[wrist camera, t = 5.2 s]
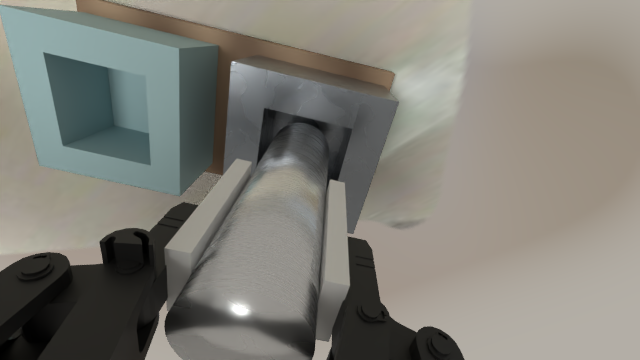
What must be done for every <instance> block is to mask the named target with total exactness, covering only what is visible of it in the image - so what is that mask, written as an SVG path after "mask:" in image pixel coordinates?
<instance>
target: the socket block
mask: <svg viewBox="0 0 640 360" xmlns="http://www.w3.org/2000/svg"><path fill="white" fill-rule="evenodd" d="M398 103H399V101H398V100H397V99H396V98H395V97H394V96H393V95H392V94H391V93H390V91H389V90H388V89H387V88H386V87H385V86H383V85H379V84H375V83H371V82H367V81H363V80H359V79H355V78H351V77H346V76H342V75H338V74H334V73H330V72H326V71H322V70H318V69H314V68H310V67H306V66H302V65H297V64H293V63H289V62H285V61H281V60H277V59H273V58H269V57H265V56H261V55H255V56H251V57H247V58H242V59H238V60H234V61H231V71H230V85H229V99H228V113H227V126H226V140H225V154H224V168H223V175H224V174H225V172H226V171H227V170H228V169H229V167H230V166H231V165H232V164H233V162H234V161H235V160H236V159H241V160H245V161H250V162H252V165H251V173H250V177H251V175H252V173H253V172H254V170H255V169H256V167H257V165H258V164H259V162H260V160H261V159H262V157H263V155H264V154H265V152H266V150H267V149H268V147H269V146H270V144H271V142H272V141H273V139H274V137H275V136H276V134H277V133H278V132H279V131H280V130H281V129H282V128H283V127H285V126H287V125H289V124H292V123H306V124H310V125H312V126H314V127H316V128H317V129H318V130H320V131H321V132H322V134H323V135H324V136H325V138H326V140H327V142H328V146H329V158H328V172H327V186H326V193H327V189H328V185H329V181H330V180H335V181H339V182H344V183H345V197H346V217H347V233H351V234H353V233H354V230H355V227H356V224H357V221H358V219H359V216H360V213H361V210H362V207H363V204H364V201H365V198H366V196H367V193H368V190H369V187H370V184H371V181H372V178H373V175H374V172H375V170H376V167H377V164H378V161H379V158H380V155H381V152H382V149H383V147H384V144H385V141H386V138H387V135H388V132H389V129H390V126H391V123H392V121H393V118H394V115H395V112H396V109H397V106H398Z"/></svg>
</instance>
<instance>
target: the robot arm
mask: <svg viewBox="0 0 640 360" xmlns="http://www.w3.org/2000/svg"><path fill="white" fill-rule="evenodd" d="M251 165H252V162H250V161H245V160H241V159H236V160H235V161H234V162H233V164H232V165H231V166H230V167H229V169H228V170H227V171H226V172H225V174H224V175H223V176H222V177H221V178H220V180H219V181H218V182H217V183H216V185H215V186H214V187H213V188H212V190H211V191H210V192H209V193H208V195H207V196H206V197H205V198H204V200H203V201H202V202H201V203H200V204H199V205H194V204H189V203H185V202H183V203H181V204H179V205H177V206H175V207H173V208H171V209H170V211H169V212H168V213H167V214H166V215H165V216H164V218H162V219H161V220H160V221H159V222H158V224H157V225H155V226H154V227H153V228H152V229H151V231H150V232H148V231H146V230H143V229H138V228H127V229H122V230H118V231H115V232H113V233H111V234H109V235H107V236H105V237H104V238H103V239H102V240H101V241H100V247H101V252H102V258H103V264H96V265H76V266H70V263H69V260H68V259H67V257H66V256H64V255H62V254H60V253H51V252H47V253H40V254H35V255H31V256H28V257H25V258H22V259H21V260H19V261H17V262H15V263H13V264H11V265H10V266H8V267H7V268H5V269H4V270H2V271H1V272H0V360H145V357H146V354H147V352H148V349H149V346H150V344H151V341H152V338H153V336H154V333H155V331H156V328H157V325H158V321H159V311H160V309H161V307H162V306H163V304H164V303H165V301H166V300H167V311H169V310H170V308H171V307H172V305H173V303H174V302H175V300H176V298H177V297H178V295H179V294H180V292H181V290H182V289H183V287H184V285H185V284H186V282H187V280H188V279H189V277H190V275H191V274H192V272H193V271H194V269H195V267H196V266H197V264H198V262H199V261H200V259H201V257H202V256H203V254H204V252H205V251H206V249H207V247H208V246H209V244H210V243H211V241H212V239H213V238H214V236H215V234H216V233H217V231H218V229H219V228H220V226H221V224H222V223H223V221H224V220H225V218H226V216H227V215H228V213H229V211H230V210H231V208H232V206H233V205H234V203H235V201H236V200H237V198H238V196H239V195H240V193H241V192H242V190H243V188H244V187H245V185H246V183H247V182H248V180H249V178H250V173H251ZM331 334H332V347H331V350H330V352H329V355H328V357H327V360H464V358H463V355H462V353H461V351H460V349H459V348H458V346H457V344H456V343H455V341H454V340H453V339H452V338H451V337H450V336H449V335H448V334H446V333H445V332H443V331H442V330H440V329H437V328H434V327H423V328H421V329H420V330H418V332H415V331H413V330H411V329H409V328H407V327H405V326H403V325H401V324H399V323H398V322H396V321H395V320H393V319H392V318H391V317H390V316H389V312H388V311H387V309H386V307H385V306H384V305H383V304H382V303H381V302H380V297H379V291H378V284H377V278H376V272H375V265H374V261H373V254H372V249H371V247H370V246H369V245H368V243H367V241H366V240H361V239H357V238H352V237H348V236H347V217H346V197H345V183H344V182H339V181H335V180H330V181H329V185H328V189H327V193H326V198H325V212H324V226H323V240H322V254H321V268H320V282H319V295H318V312H317V326H316V339H317V340H322V341H327V342H328V341H329V339H330V337H331Z"/></svg>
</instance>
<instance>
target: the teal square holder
mask: <svg viewBox="0 0 640 360" xmlns="http://www.w3.org/2000/svg"><path fill="white" fill-rule="evenodd" d="M0 15H1V18H2V22H3V26H4V30H5V34H6V38H7V42H8V46H9V49H10V53H11V57H12V61H13V65H14V69H15V73H16V77H17V80H18V84H19V88H20V92H21V96H22V100H23V104H24V108H25V112H26V115H27V119H28V123H29V127H30V131H31V135H32V139H33V143H34V146H35V150H36V154H37V158H38V162H39V166H44V167H48V168H53V169H57V170H62V171H67V172H71V173H76V174H80V175H85V176H90V177H94V178H99V179H103V180H108V181H112V182H117V183H122V184H126V185H131V186H135V187H140V188H145V189H149V190H154V191H158V192H163V193H168V194H172V195H177V196H181V195H182V194H183V193H184V192H185V191H186V190H187V188H188V187H189V186H190V185H191V184H192V183H193V182H194V181H195V180H196V179H197V178H198V177H199V176H200V175H201V174H202V173H203V172H204V171H205V170H206V169H207V168H208V167H209V166H210V165H211V164H212V162H213V143H214V124H215V105H216V85H217V66H218V47H219V45H216V44H212V43H208V42H203V41H199V40H195V39H191V38H187V37H183V36H179V35H175V34H171V33H167V32H163V31H159V30H154V29H150V28H146V27H142V26H138V25H134V24H130V23H126V22H122V21H118V20H114V19H110V18H105V17H101V16H97V15H93V14H89V13H85V12H75V11H64V10H53V9H41V8H30V7H19V6H8V5H0Z"/></svg>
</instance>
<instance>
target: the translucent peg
mask: <svg viewBox="0 0 640 360" xmlns="http://www.w3.org/2000/svg"><path fill="white" fill-rule="evenodd" d="M328 158H329V146H328V142H327V140H326V138H325V136H324V135H323V134H322V132H321V131H320V130H318V129H317V128H316V127H314V126H312V125H310V124H306V123H292V124H289V125H287V126H285V127H283V128H282V129H281V130H280V131H279V132H278V133H277V134H276V136H275V137H274V139H273V141H272V142H271V144H270V146H269V147H268V149H267V150H266V152H265V154H264V155H263V157H262V159H261V160H260V162H259V164H258V165H257V167H256V169H255V170H254V172H253V173H252V175H251V177H250V178H249V180H248V182H247V183H246V185H245V187H244V188H243V190H242V192H241V193H240V195H239V196H238V198H237V200H236V201H235V203H234V205H233V206H232V208H231V210H230V211H229V213H228V215H227V216H226V218H225V220H224V221H223V223H222V224H221V226H220V228H219V229H218V231H217V233H216V234H215V236H214V238H213V239H212V241H211V243H210V244H209V246H208V247H207V249H206V251H205V252H204V254H203V256H202V257H201V259H200V261H199V262H198V264H197V266H196V267H195V269H194V271H193V272H192V274H191V275H190V277H189V279H188V280H187V282H186V284H185V285H184V287H183V289H182V290H181V292H180V294H179V295H178V297H177V298H176V300H175V302H174V303H173V305H172V307H171V308H170V310H169V312H168V314H167V316H166V320H165V334H166V337H167V340H168V342H169V344H170V345H171V347H172V348H173V349H174V351H175V352H176V353H177V354H178V355H179V356H180V357H181V358H182V359H183V360H312V357H313V355H314V351H315V340H316V326H317V312H318V295H319V282H320V268H321V254H322V240H323V226H324V212H325V198H326V186H327V172H328Z"/></svg>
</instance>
